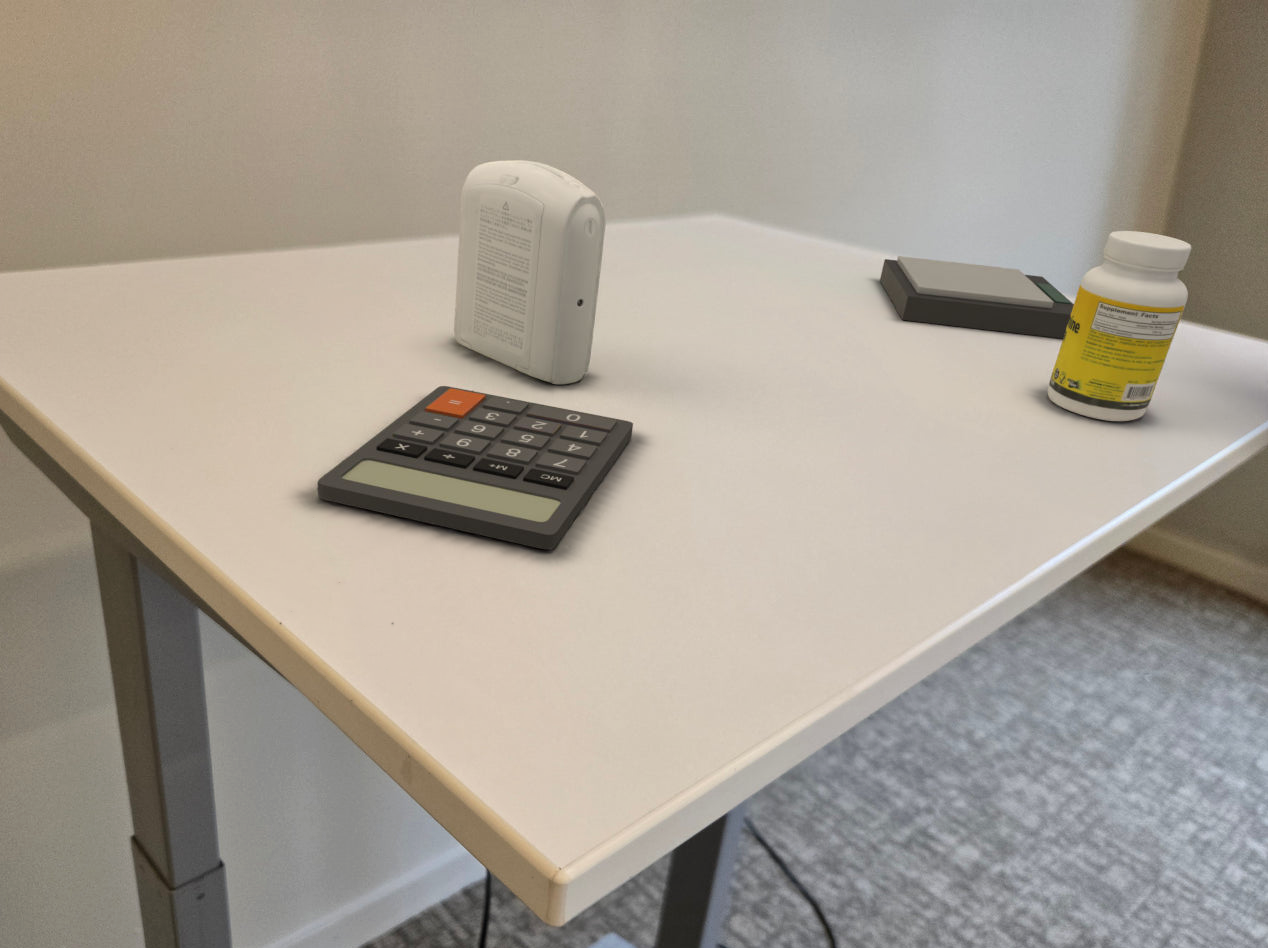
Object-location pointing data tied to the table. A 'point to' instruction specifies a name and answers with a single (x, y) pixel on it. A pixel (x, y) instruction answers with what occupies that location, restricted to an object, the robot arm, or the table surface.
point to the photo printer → (529, 268)
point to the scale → (975, 297)
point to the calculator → (482, 466)
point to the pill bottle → (1121, 327)
